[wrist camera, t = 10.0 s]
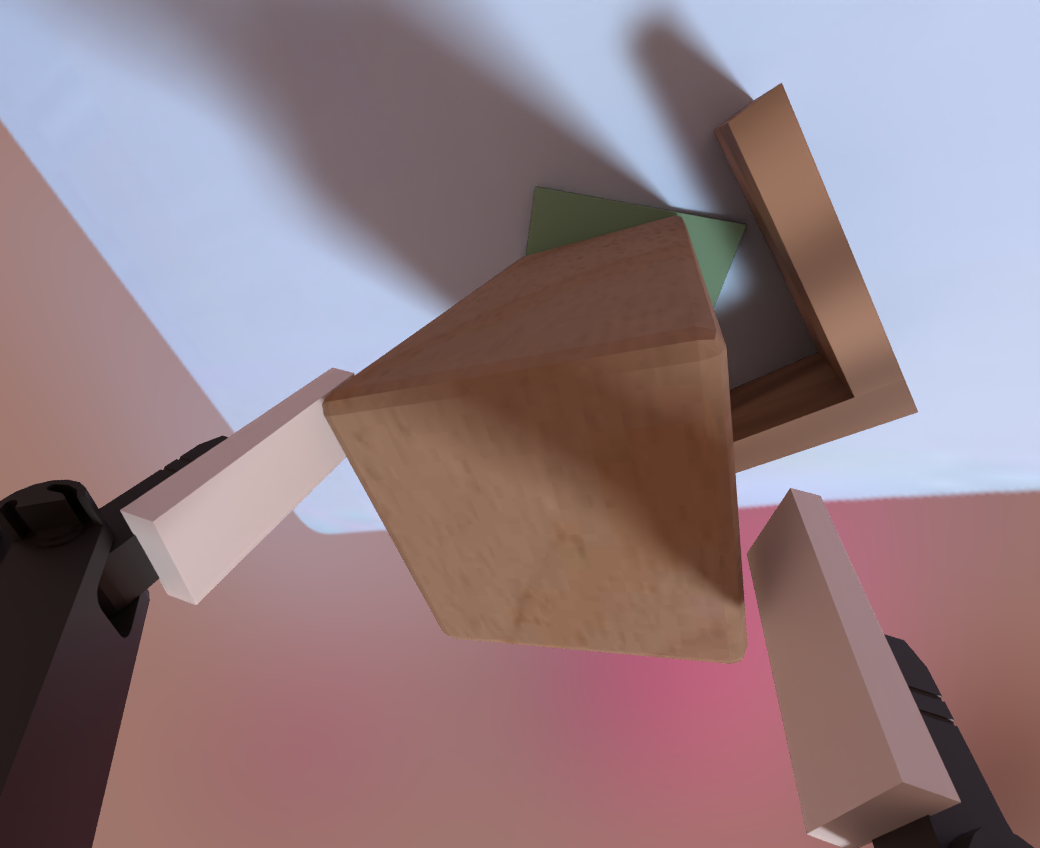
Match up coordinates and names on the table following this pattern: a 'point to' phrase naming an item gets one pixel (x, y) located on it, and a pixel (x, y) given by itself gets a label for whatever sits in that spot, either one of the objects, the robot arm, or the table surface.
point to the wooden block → (564, 454)
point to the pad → (588, 217)
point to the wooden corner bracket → (807, 300)
